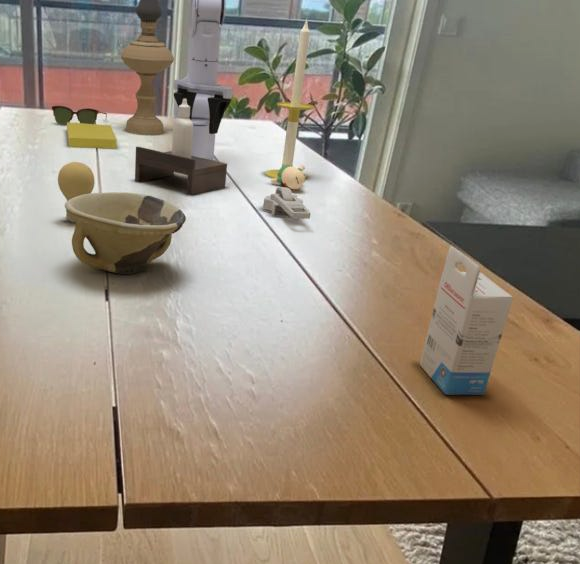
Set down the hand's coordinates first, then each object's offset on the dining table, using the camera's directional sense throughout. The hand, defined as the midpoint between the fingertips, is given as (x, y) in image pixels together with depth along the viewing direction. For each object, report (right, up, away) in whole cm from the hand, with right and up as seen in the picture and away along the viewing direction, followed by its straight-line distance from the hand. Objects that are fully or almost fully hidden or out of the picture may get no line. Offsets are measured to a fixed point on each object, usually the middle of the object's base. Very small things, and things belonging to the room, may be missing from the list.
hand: (199, 130), depth 168 cm
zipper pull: (+17, -25, -17) cm, 35 cm away
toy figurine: (+20, -10, +6) cm, 23 cm away
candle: (+21, -4, +16) cm, 27 cm away
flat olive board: (-28, +16, +40) cm, 52 cm away
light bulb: (-23, -30, -29) cm, 47 cm away
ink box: (+27, -65, -77) cm, 104 cm away
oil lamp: (-14, +25, +56) cm, 63 cm away
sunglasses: (-34, +31, +62) cm, 77 cm away
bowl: (-13, -44, -50) cm, 68 cm away
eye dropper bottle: (-4, -7, -2) cm, 9 cm away
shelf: (-4, -11, +1) cm, 12 cm away
